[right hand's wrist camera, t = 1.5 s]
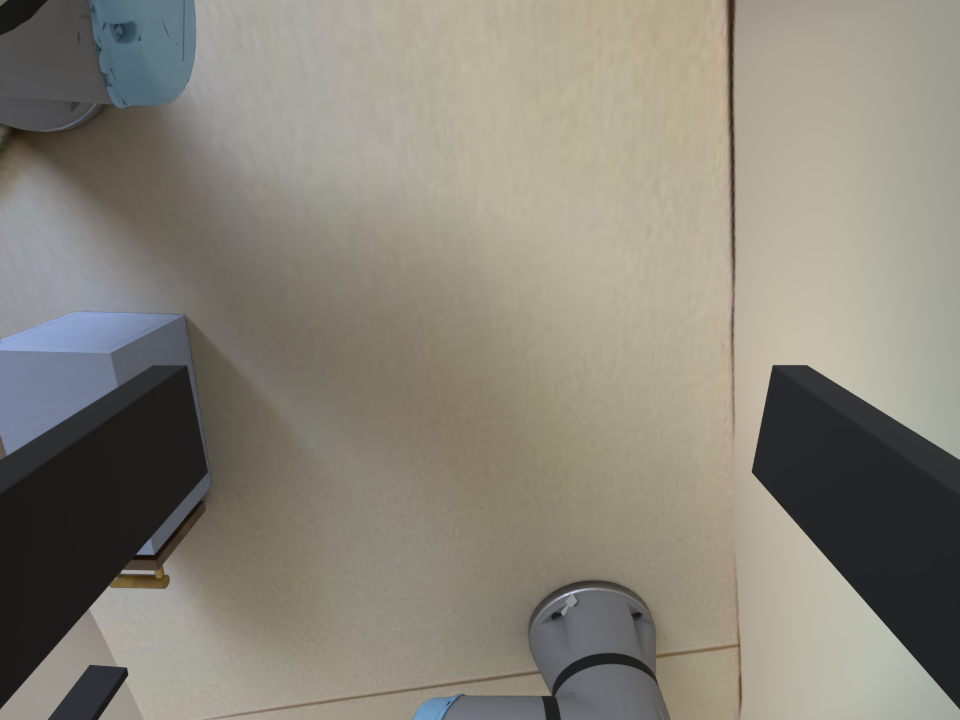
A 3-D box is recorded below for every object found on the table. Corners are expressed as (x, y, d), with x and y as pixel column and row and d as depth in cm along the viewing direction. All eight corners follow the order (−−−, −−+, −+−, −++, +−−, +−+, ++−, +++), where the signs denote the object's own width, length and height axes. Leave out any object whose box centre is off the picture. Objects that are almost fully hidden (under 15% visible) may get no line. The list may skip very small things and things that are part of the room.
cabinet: (212, 485, 60) (154, 555, 50) (115, 482, 60) (36, 552, 49) (184, 314, 54) (110, 352, 43) (75, 311, 53) (-27, 348, 43)
